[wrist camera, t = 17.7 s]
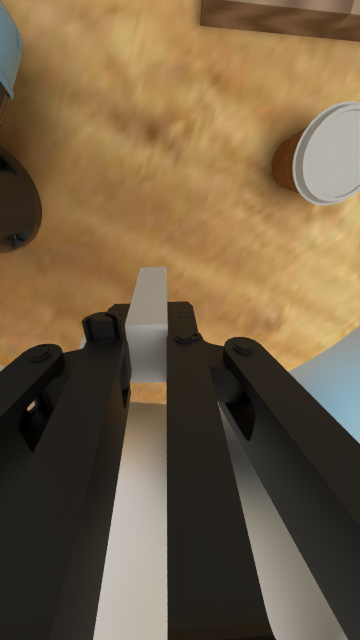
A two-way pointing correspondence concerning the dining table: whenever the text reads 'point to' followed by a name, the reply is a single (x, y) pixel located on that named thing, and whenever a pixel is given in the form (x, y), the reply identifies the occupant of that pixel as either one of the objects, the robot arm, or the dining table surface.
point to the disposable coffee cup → (323, 156)
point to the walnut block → (286, 17)
